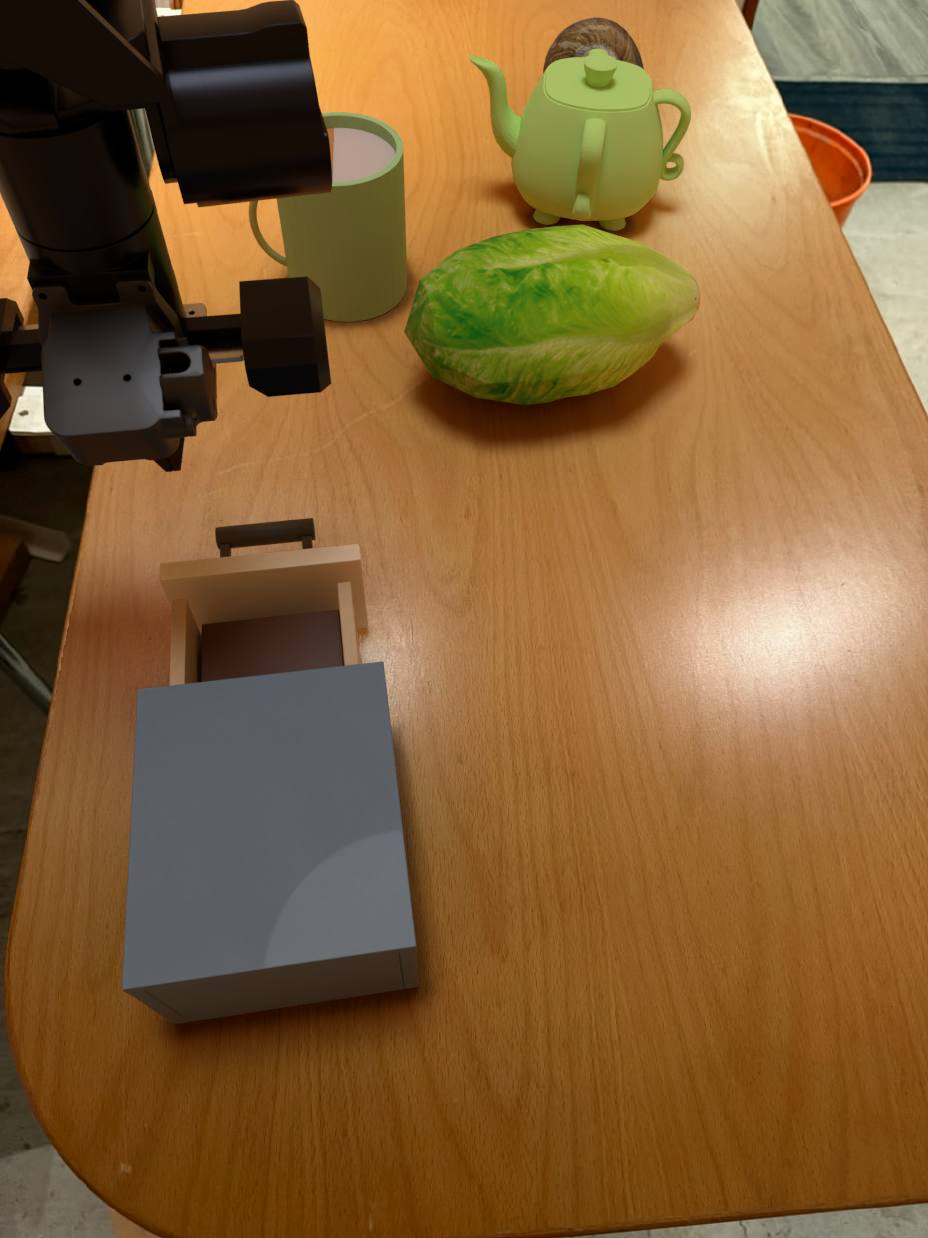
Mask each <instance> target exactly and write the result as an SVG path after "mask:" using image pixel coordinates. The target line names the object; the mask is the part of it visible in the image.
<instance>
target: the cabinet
mask: <svg viewBox="0 0 928 1238" xmlns="http://www.w3.org/2000/svg"><path fill="white" fill-rule="evenodd" d="M389 706H390V705H389V697H388V687H387V680H386V670H385V662H384V661H383V660H382V661H374V662H366V663H365V662H363V663H361V664H355V665H346V666H338V667H329V668H320V669H311V670H303V671H294V672H285V673H276V674H267V675H259V676H250V677H241V678H232V679H224V680H215V681H206V682H197V683H189V684H180V685H171V686H169V685H164V686H163V685H162V686H154V687H147V688H146V687H145V688H138V689H137V695H136V710H135V711H136V712H135V731H134V749H133V750H134V751H133V767H132V787H131V790H132V791H131V806H130V807H131V808H130V826H129V827H130V828H129V844H128V845H129V846H128V862H127V863H128V865H127V883H126V899H125V900H126V902H125V921H124V938H123V957H122V958H123V959H122V960H123V961H122V974H121V975H122V978H121V979H122V980H121V990H122V991H123V992H125V993H126V994H128V995H130V996H131V997H133V998H134V999H136V1000H137V1001H139V1002H140V1003H142V1004H143V1005H145V1006H147V1008H149V1009H151V1010H152V1011H154V1012H155V1013H157V1014H159V1015H160V1016H161V1017H163V1018H165V1019H166V1020H167V1021H169V1022H170V1023H171V1024H173V1025H178V1024H186V1023H192V1022H199V1021H204V1020H205V1021H206V1020H213V1019H219V1018H224V1017H231V1016H237V1015H244V1014H252V1013H258V1012H264V1011H270V1010H277V1009H283V1008H284V1009H285V1008H291V1007H296V1006H297V1007H298V1006H304V1005H309V1004H316V1003H324V1002H329V1001H336V1000H342V999H343V1000H345V999H350V998H357V997H362V996H368V995H375V994H382V993H389V992H394V991H395V992H396V991H403V990H407V989H408V990H409V989H414V988H419V987H420V976H419V962H418V947H417V938H416V927H415V921H414V913H413V912H414V911H413V904H412V903H413V902H412V896H411V895H412V894H411V887H410V885H411V884H410V876H409V868H408V861H407V852H406V844H405V843H406V842H405V834H404V825H403V816H402V809H401V808H402V807H401V801H400V800H401V799H400V791H399V782H398V773H397V766H396V758H395V757H396V756H395V749H394V740H393V731H392V730H393V729H392V723H391V715H390V714H391V713H390V707H389Z"/></svg>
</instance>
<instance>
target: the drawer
mask: <svg viewBox="0 0 928 1238" xmlns="http://www.w3.org/2000/svg"><path fill="white" fill-rule="evenodd" d="M214 536H215V543H216V547H217V549H218V550H219V557H210V558H202V559H192V560H191V559H190V560H183V561H182V560H180V561H172V562H171V561H170V562H161V563H159V570H158V571H159V574H158V581H159V583H160V585H161V587H162V589H163V590H162V591H163V592H164V594H165V596H166V599H167V601H168V603H169V605H170V607H171V617H170V619H171V621H170V648H169V649H170V651H169V654H170V655H169V680H168V681H169V684H168V686H171V685H180V684H189V683H197V682H201V649H202V624H209V623H218V622H227V621H237V620H246V619H255V618H265V617H274V616H283V615H293V614H302V613H311V612H320V611H330V610H339V612H340V623H341V634H342V645H343V657H344V666H346V665H355V664H362V658H361V657H362V656H361V647H360V639H359V631H358V629H360V628H368V627H369V617H368V609H367V607H368V606H367V599H366V589H365V583H364V573H363V565H362V556H361V546H360V543H352V544H342V545H333V546H322V547H321V546H320V547H314V546H313V541H316V539H317V538H316V528H315V521H314V518H313V517H307V518H306V517H305V518H297V519H296V518H295V519H288V520H286V519H285V520H277V521H276V520H275V521H266V522H255V523H245V524H234V525H225V526H223V525H222V526H216V527H215V530H214ZM300 542H301V546H302V547H301V548H302V549H301V548H300V549H292V550H282V551H272V552H271V551H270V552H261V553H252V554H251V553H250V554H242V555H232V549H240V548H249V547H251V548H252V547H259V546H269V545H271V546H272V545H280V544H290V543H291V544H292V543H300Z"/></svg>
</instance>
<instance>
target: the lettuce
mask: <svg viewBox="0 0 928 1238" xmlns="http://www.w3.org/2000/svg"><path fill="white" fill-rule="evenodd" d="M700 305H701V289H700V285H699V283H698V280H697V279H696V278H695V277H694V275H693V274H692V272H691V271H690V270H689V269H688V268H686V267H685V266H684V265H682V264H681V263H679V262H678V261H677V260H675V259H672V258H671V257H669V256H667V255H666V254H664V253H661V252H659V251H657V250H655V249H653V248H651V247H649V246H647V245H646V244H644V243H642V242H640V241H637V240H634V239H631V238H627V237H623V236H620V235H618V234H614V233H610V232H607V231H605V230H601V229H598V228H595V227H592V226H589V225H585V224H572V225H571V224H570V225H556V226H547V227H545V226H544V227H538V228H537V227H536V228H528V229H521V230H518V231H513V232H507V233H504V234H499V235H494V236H492V237H488V238H486V239H483V240H481V241H478V242H475V243H473V244H470V245H467V246H463V247H462V248H459V249H456V250H455V251H453V252H452V253H451V254H449V255H448V256H447V257H446V258H445V259H444V260H442V261H441V262H440V263H439V264H438V265H436V266H435V267H433V269H432V270H430V271H428V273H427V274H425V275H424V276H423V277H421V278H420V279H419V281H418V285H417V288H416V292H415V294H414V298H413V301H412V304H411V308H410V311H409V315H408V318H407V321H406V325H405V328H404V334H405V335H406V337H407V339H408V341H409V343H410V345H412V347H413V349H414V350H415V352H416V353H417V355H418V357H419V359H420V360H421V363H423V365H424V367H425V368H426V370H427V372H428V374H429V375H430V376H431V377H432V378H434V379H436V380H438V381H440V382H442V383H444V384H446V385H448V386H451V387H452V388H454V389H457V390H459V391H461V392H463V393H465V394H467V395H469V396H471V397H473V398H475V399H483V400H487V401H495V402H501V403H502V402H503V403H510V404H516V405H522V406H529V405H537V404H546V403H550V402H554V401H557V400H560V399H561V400H562V399H564V398H571V397H578V396H579V397H580V396H586V395H591V394H593V393H596V392H600V391H603V390H607V389H611V388H614V387H615V386H617V385H618V384H620V383H622V382H624V380H626V379H628V378H629V377H631V376H632V375H634V374H635V373H636V372H637V371H638V370H640V369H641V368H642V367H643V366H644V365H645V364H647V363H648V362H649V361H650V360H651V359H652V358H654V356H655V354H656V353H657V351H658V349H659V348H660V346H661V344H662V343H663V342H664V341H666V340H667V339H668V338H671V336H673V335H675V334H676V333H677V332H678V331H680V329H682V328H683V327H684V326H685V325H687V324H689V323H690V322H691V321H693V320H694V318H695V317H696V315H697V313H698V312H699V309H700Z"/></svg>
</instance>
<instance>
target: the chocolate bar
mask: <svg viewBox="0 0 928 1238" xmlns="http://www.w3.org/2000/svg"><path fill="white" fill-rule="evenodd" d="M338 666H344V657H343V645H342V634H341V623H340V612H339V610H330V611H320V612H311V613H302V614H293V615H283V616H274V617H265V618H255V619H246V620H237V621H227V622H218V623H209V624H202V649H201V682H206V681H215V680H224V679H232V678H241V677H250V676H259V675H267V674H276V673H285V672H294V671H303V670H311V669H320V668H329V667H338Z"/></svg>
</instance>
